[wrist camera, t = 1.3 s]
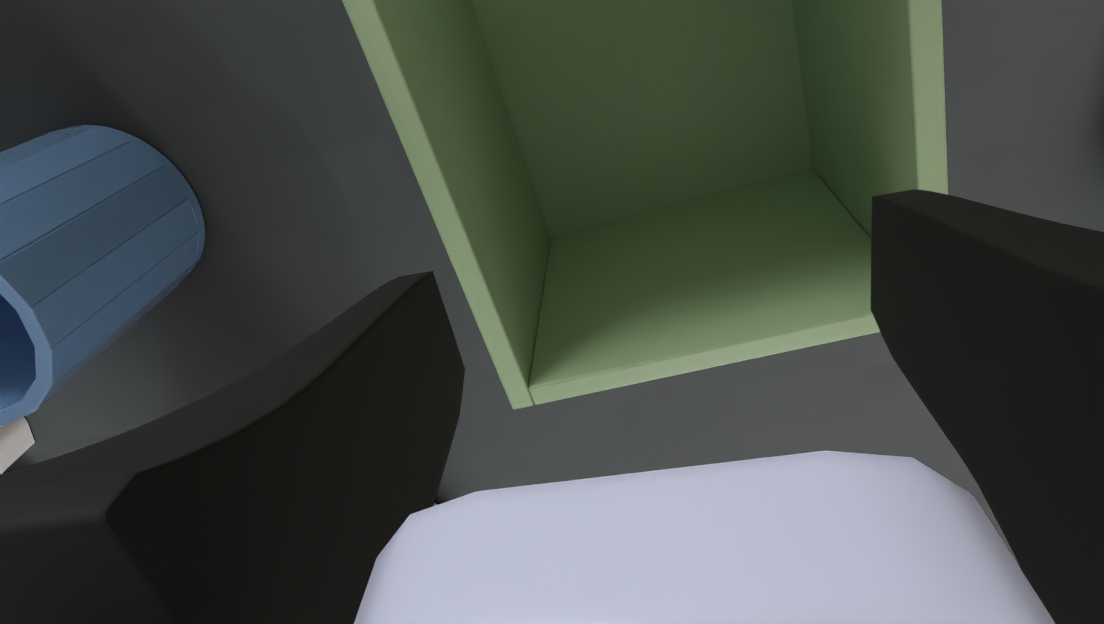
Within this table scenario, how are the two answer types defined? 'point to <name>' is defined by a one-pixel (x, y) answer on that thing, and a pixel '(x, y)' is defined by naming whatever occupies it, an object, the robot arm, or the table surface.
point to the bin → (659, 170)
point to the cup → (84, 252)
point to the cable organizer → (14, 442)
